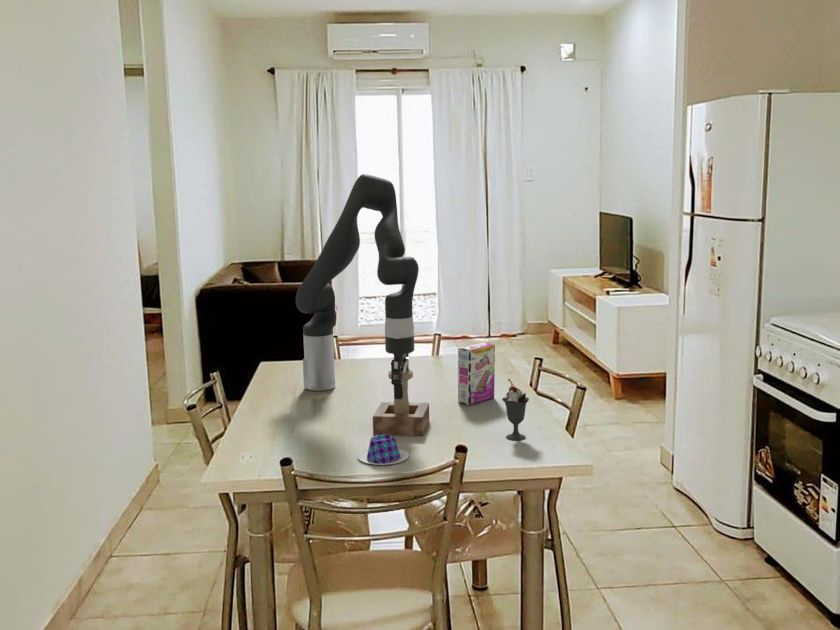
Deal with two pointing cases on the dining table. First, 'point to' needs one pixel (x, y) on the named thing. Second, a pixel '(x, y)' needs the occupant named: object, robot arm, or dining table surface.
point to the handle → (403, 404)
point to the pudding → (383, 451)
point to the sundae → (515, 410)
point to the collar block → (401, 420)
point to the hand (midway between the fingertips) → (401, 394)
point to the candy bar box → (476, 373)
